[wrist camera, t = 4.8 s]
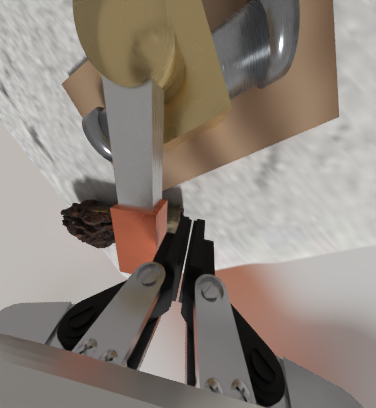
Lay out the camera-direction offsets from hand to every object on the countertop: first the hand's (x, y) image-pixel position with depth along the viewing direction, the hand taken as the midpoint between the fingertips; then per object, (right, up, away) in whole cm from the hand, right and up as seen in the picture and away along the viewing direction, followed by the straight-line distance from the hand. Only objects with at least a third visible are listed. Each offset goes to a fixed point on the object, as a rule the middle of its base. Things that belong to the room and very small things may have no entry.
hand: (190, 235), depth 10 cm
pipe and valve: (-1, +13, +5) cm, 13 cm away
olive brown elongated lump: (-9, 0, +13) cm, 16 cm away
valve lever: (-3, +5, 0) cm, 5 cm away
